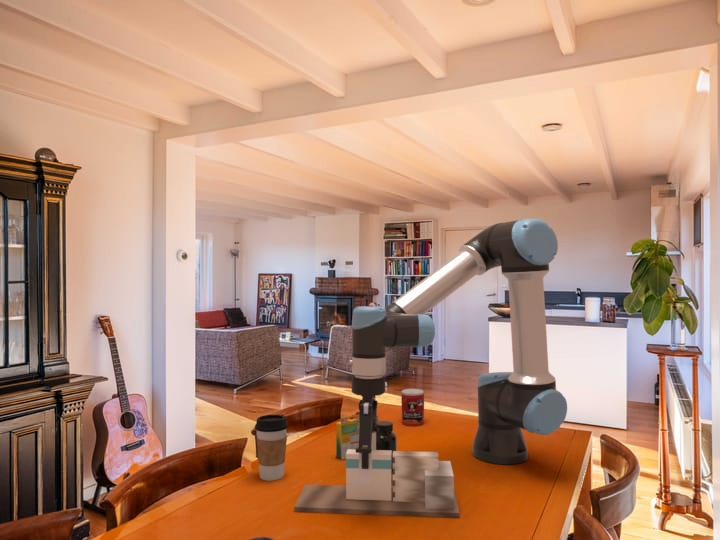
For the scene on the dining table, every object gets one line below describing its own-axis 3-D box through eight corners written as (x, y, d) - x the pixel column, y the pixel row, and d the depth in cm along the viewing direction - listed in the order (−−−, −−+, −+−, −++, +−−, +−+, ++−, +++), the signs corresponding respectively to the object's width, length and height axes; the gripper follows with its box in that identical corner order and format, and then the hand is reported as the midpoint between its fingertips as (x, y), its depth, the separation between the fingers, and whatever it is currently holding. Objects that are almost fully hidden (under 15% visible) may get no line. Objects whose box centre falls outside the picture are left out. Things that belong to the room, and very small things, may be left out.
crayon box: (357, 452, 148) (357, 411, 148) (363, 455, 145) (363, 413, 146) (335, 457, 144) (335, 415, 144) (341, 460, 141) (341, 417, 142)
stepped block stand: (454, 493, 119) (453, 445, 119) (459, 517, 107) (459, 464, 107) (305, 488, 122) (305, 442, 123) (294, 511, 111) (293, 460, 111)
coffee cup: (260, 485, 125) (260, 423, 125) (250, 473, 132) (250, 414, 132) (293, 478, 129) (293, 418, 129) (282, 467, 136) (282, 410, 136)
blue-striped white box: (392, 494, 116) (391, 450, 116) (391, 500, 113) (391, 455, 113) (347, 493, 117) (347, 449, 117) (345, 499, 114) (345, 453, 114)
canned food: (400, 426, 174) (400, 393, 174) (402, 419, 181) (402, 388, 182) (423, 427, 172) (423, 394, 172) (424, 420, 180) (424, 388, 180)
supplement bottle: (395, 475, 131) (394, 427, 131) (368, 473, 132) (368, 426, 132) (398, 465, 137) (398, 420, 138) (373, 463, 139) (372, 418, 139)
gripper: (357, 365, 128) (356, 451, 128) (345, 386, 103) (344, 493, 103) (387, 366, 127) (386, 452, 127) (382, 387, 103) (381, 494, 102)
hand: (367, 471), depth 115 cm, fingers open, 13 cm apart
